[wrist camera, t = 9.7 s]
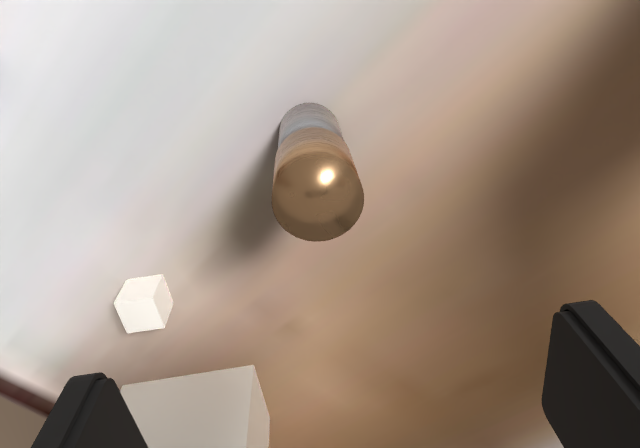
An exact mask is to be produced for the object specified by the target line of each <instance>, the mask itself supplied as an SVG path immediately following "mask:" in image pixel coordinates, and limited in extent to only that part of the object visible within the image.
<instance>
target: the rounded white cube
mask: <svg viewBox="0 0 640 448" xmlns="http://www.w3.org/2000/svg"><path fill="white" fill-rule="evenodd" d="M113 304H114V306H115V308H116V310H117V313H118V315H119V317H120V319H121V321H122V324H123V326H124V328H125V330H126V332H127V333H134V332H141V331H148V330H154V329H161V328H165V326H166V323H167V320H168V317H169V315H170V312H171V309H172V306H173V300H172V297H171V294H170V292H169V289H168V286H167V284H166V281H165V278H164V276H163V274H160V275H153V276H146V277H140V278H133V279H127V280H126V281H125V283H124V285H123V287H122V289H121V291H120V292H119V294H118V296H117V298H116V300H115V302H114V303H113Z"/></svg>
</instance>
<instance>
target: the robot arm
mask: <svg viewBox="0 0 640 448" xmlns="http://www.w3.org/2000/svg"><path fill="white" fill-rule="evenodd" d="M542 407H543V410H544V413H545V415H546V417H547V419H548V421H549V423H550V424H551V426H552V428H553V430H554V431H555V433H556V435H557V436H558V438H559V440H560V441H561V443H562V445H563V447H564V448H640V346H639V345H638V344H637V343H636V342H635V341H634V340H633V339H632V338H631V337H630V336H629V335H628V334H627V333H626V332H625V331H624V330H623V329H622V327H621V326H620V325H619V324H618V323H617V322H616V321H615V320H614V319H613V318H612V317H611V316H610V315H609V314H608V313H607V312H606V311H605V310H604V309H603V308H602V306H601V305H600V304H598V303H597V302H596V301H593V300H589V301H582V302H576V303H569V304H564V305H563V306H562V307H561V309H560V312H557V313H555V314H554V316H553V322H552V329H551V336H550V343H549V350H548V358H547V365H546V372H545V379H544V386H543V394H542ZM31 448H148V446H147V444H146V442H145V440H144V438H143V436H142V434H141V432H140V430H139V428H138V426H137V424H136V422H135V420H134V418H133V416H132V414H131V413H130V411H129V409H128V407H127V405H126V403H125V401H124V399H123V397H122V395H121V393H120V391H119V389H118V387H117V385H116V383H115V381H114V380H113V379H112V378H108V379H107V377H106V376H105V374H103V373H93V374H87V375H80V376H73V377H72V378H70V379H69V381H68V382H67V383H66V385H65V387H64V389H63V391H62V392H61V394H60V396H59V398H58V400H57V401H56V403H55V405H54V407H53V409H52V410H51V412H50V414H49V416H48V418H47V420H46V421H45V423H44V425H43V427H42V429H41V430H40V432H39V434H38V436H37V438H36V439H35V441H34V443H33V445H32V447H31Z"/></svg>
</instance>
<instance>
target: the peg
mask: <svg viewBox="0 0 640 448" xmlns="http://www.w3.org/2000/svg"><path fill="white" fill-rule="evenodd" d="M363 204H364V193H363V188H362V185H361V182H360V179H359V177H358V174H357V171H356V168H355V165H354V162H353V159H352V157H351V154H350V151H349V149H348V147H347V145H346V143H345V142H344V140H343V137H342V134H341V131H340V128H339V125H338V122H337V120H336V118H335V116H334V115H333V114H332V112H331V111H330V110H328V109H327V108H326V107H324V106H322V105H319V104H315V103H303V104H300V105H297V106H295V107H293V108H292V109H290V110H289V111H288V112H287V113H286V114H285V116H284V117H283V119H282V121H281V124H280V128H279V140H278V151H277V153H276V157H275V165H274V177H273V189H272V208H273V212H274V215H275V217H276V219H277V221H278V222H279V224H280V225H281V226H282V227H283V228H284V229H285V230H286V231H287V232H289V233H290V234H291V235H293V236H295V237H297V238H300V239H303V240H307V241H326V240H330V239H333V238H336V237H338V236H341V235H342V234H344V233H345V232H347V231H348V230H349V229H350V228H351V227H352V226H353V225H354V224H355V223H356V221H357V220H358V218H359V217H360V214H361V212H362V209H363Z"/></svg>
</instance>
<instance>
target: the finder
mask: <svg viewBox="0 0 640 448" xmlns="http://www.w3.org/2000/svg"><path fill="white" fill-rule="evenodd" d="M120 393H121V395H122V397H123V399H124V401H125V403H126V405H127V407H128V409H129V411H130V413H131V414H132V416H133V418H134V420H135V422H136V424H137V426H138V428H139V430H140V432H141V434H142V436H143V438H144V440H145V442H146V444H147V446H148V448H269V431H270V416H269V413H268V410H267V406H266V403H265V400H264V396H263V393H262V390H261V387H260V383H259V380H258V377H257V374H256V370H255V367H254V365H249V366H243V367H236V368H230V369H223V370H217V371H210V372H204V373H197V374H191V375H185V376H178V377H172V378H165V379H159V380H152V381H146V382H140V383H133V384H127V385H122V388H121V390H120Z"/></svg>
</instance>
